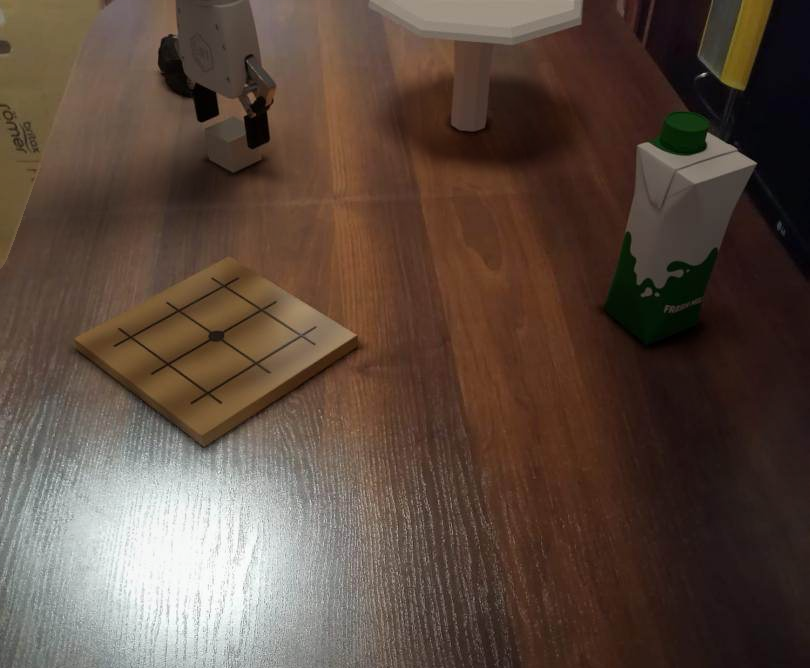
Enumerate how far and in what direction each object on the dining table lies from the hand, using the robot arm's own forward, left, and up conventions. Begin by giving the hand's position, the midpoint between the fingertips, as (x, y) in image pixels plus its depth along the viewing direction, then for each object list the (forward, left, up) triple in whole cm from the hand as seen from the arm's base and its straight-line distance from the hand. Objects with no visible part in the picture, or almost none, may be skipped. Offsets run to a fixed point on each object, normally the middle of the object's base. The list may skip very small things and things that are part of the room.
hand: (233, 131), depth 109 cm
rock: (-22, +10, -4) cm, 24 cm away
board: (+28, -26, -4) cm, 39 cm away
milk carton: (+57, +9, -4) cm, 58 cm away
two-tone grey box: (0, 0, -4) cm, 4 cm away
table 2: (+15, +29, -4) cm, 33 cm away
